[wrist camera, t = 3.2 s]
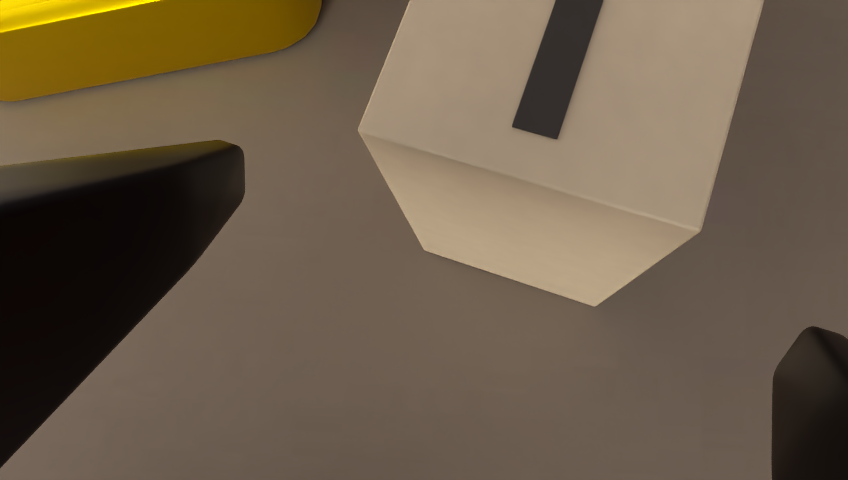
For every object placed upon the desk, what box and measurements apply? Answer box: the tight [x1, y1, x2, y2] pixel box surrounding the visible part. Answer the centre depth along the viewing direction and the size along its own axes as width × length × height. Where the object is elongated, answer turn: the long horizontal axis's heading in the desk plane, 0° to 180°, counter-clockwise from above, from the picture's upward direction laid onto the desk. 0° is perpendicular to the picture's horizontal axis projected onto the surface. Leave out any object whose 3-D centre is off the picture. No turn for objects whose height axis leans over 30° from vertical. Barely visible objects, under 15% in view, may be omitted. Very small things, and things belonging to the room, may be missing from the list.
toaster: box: [358, 0, 764, 306], centre depth 15 cm, size 6×6×10 cm
